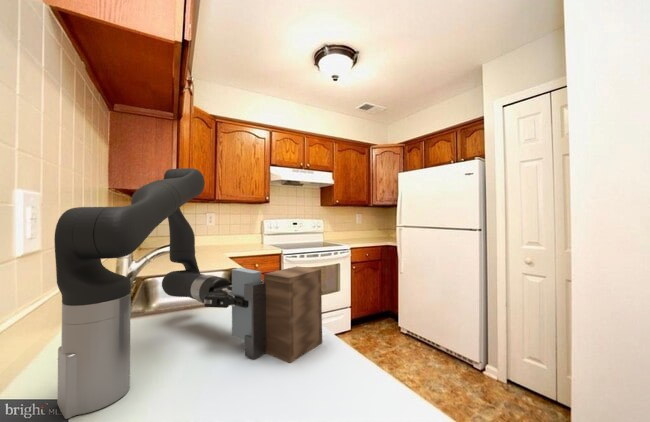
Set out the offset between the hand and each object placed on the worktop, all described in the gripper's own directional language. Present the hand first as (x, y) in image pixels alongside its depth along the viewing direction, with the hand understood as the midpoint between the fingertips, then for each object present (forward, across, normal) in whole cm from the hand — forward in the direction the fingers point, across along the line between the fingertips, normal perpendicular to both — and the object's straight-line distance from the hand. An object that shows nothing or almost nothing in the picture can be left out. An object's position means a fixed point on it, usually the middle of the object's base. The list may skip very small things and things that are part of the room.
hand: (252, 301), depth 63 cm
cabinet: (+7, +7, +12) cm, 15 cm away
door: (-2, 0, +9) cm, 9 cm away
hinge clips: (+1, 0, +12) cm, 12 cm away
